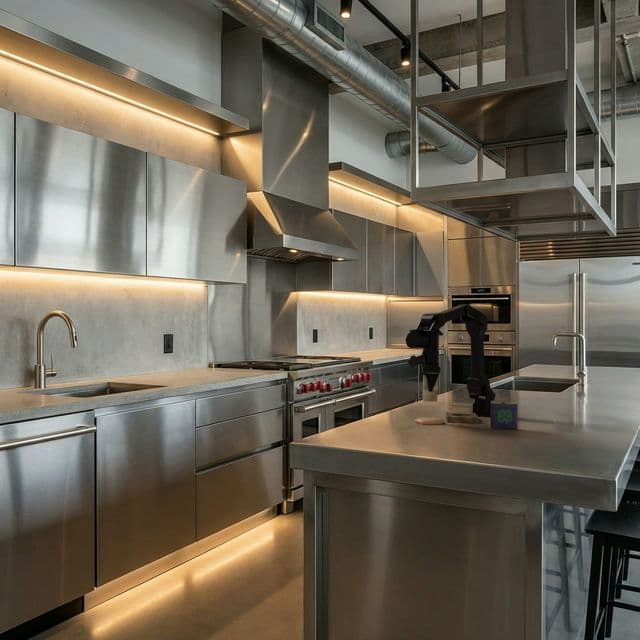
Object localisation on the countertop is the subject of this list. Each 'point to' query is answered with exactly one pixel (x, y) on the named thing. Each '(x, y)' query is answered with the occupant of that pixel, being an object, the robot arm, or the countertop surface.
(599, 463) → the countertop surface
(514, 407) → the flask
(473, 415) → the pocket board
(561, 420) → the countertop surface
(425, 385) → the maple block
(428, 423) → the terracotta plate
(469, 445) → the countertop surface
